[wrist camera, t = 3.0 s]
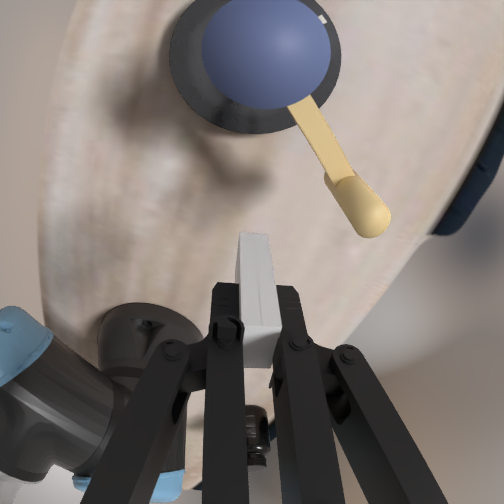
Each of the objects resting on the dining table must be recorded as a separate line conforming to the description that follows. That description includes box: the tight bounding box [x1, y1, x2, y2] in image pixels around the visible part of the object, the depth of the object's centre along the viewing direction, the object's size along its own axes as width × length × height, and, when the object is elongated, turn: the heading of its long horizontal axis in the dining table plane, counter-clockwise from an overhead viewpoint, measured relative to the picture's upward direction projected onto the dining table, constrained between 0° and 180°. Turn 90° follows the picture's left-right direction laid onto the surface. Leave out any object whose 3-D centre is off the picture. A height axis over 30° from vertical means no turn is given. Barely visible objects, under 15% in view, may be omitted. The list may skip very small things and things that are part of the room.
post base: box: [170, 0, 341, 134], centre depth 20 cm, size 14×14×6 cm
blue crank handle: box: [201, 0, 391, 238], centre depth 17 cm, size 16×7×7 cm, turn 33°
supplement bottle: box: [245, 406, 271, 472], centre depth 50 cm, size 7×7×12 cm
